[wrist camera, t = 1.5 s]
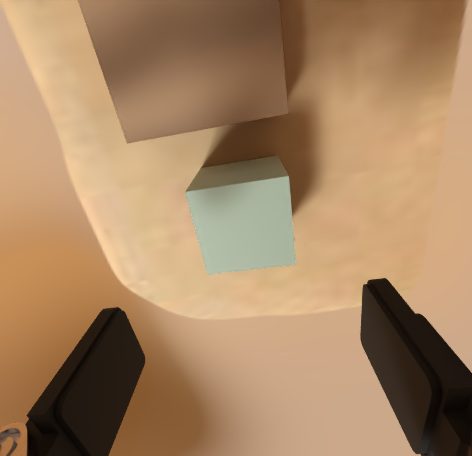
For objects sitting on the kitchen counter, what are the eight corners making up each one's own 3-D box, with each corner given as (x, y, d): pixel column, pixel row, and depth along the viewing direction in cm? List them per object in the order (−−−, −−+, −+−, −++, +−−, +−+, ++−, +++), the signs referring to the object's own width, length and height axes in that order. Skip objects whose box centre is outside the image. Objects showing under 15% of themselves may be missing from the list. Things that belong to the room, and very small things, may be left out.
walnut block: (95, -39, 15) (49, -82, 12) (262, -85, 14) (268, -146, 11) (148, 135, 20) (126, 143, 16) (280, 111, 19) (288, 113, 15)
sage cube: (201, 167, 20) (185, 192, 15) (277, 155, 20) (288, 175, 14) (216, 233, 23) (207, 274, 18) (284, 224, 22) (296, 264, 17)
